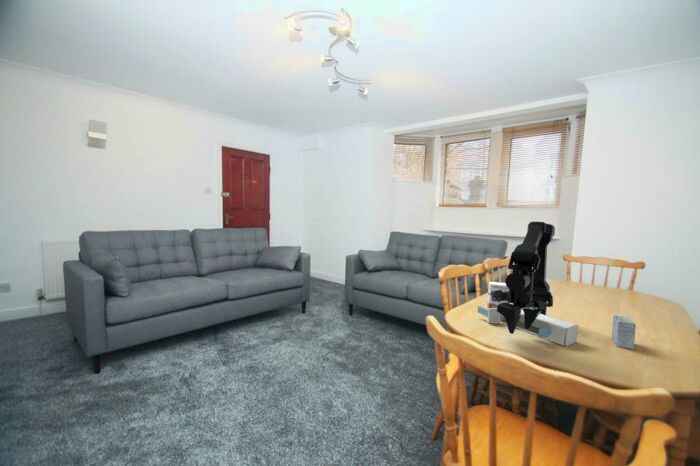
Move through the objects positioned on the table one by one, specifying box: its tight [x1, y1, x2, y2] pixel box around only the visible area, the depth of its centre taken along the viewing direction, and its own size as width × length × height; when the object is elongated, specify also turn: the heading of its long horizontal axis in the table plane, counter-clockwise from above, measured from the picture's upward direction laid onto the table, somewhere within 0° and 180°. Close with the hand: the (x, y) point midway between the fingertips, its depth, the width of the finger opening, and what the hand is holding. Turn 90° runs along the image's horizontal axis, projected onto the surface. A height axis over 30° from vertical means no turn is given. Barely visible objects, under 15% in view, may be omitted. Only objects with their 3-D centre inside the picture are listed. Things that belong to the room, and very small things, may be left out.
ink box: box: [487, 281, 511, 309], centre depth 135 cm, size 8×5×12 cm, turn 72°
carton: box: [498, 309, 579, 347], centre depth 110 cm, size 7×24×6 cm, turn 30°
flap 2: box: [537, 323, 566, 346], centre depth 99 cm, size 7×5×6 cm
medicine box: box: [611, 314, 637, 350], centre depth 102 cm, size 8×4×9 cm, turn 148°
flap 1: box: [477, 305, 500, 324], centre depth 120 cm, size 7×5×6 cm
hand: (519, 331), depth 102 cm, fingers open, 9 cm apart
